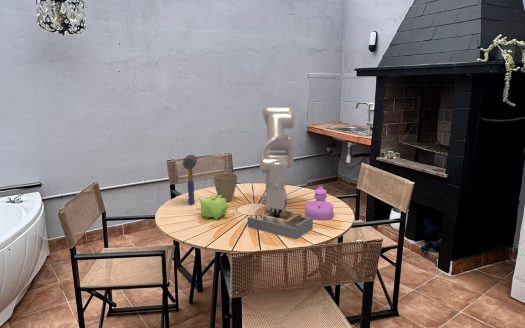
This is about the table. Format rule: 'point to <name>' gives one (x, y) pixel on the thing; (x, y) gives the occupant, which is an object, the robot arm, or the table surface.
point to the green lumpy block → (213, 207)
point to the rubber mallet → (190, 176)
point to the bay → (281, 226)
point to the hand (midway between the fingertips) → (276, 220)
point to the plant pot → (225, 185)
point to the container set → (319, 206)
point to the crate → (284, 218)
